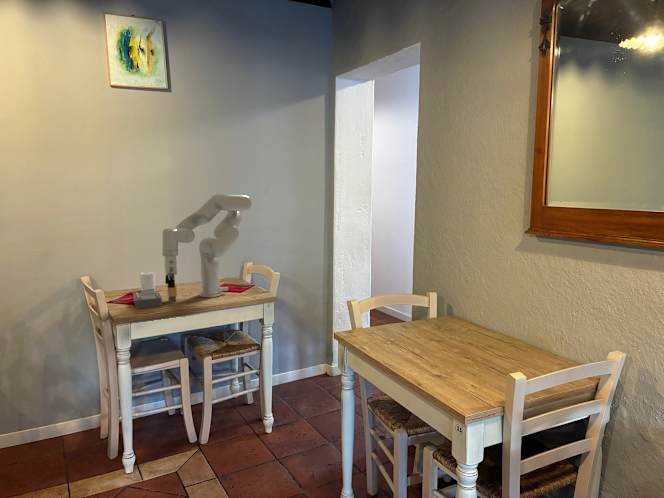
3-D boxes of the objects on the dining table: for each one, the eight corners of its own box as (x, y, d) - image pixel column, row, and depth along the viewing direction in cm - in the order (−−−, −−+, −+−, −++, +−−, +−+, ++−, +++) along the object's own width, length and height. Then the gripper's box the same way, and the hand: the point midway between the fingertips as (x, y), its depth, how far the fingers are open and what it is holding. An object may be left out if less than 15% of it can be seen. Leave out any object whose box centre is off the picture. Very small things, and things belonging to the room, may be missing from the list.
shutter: (154, 295, 243) (154, 288, 242) (156, 298, 237) (155, 291, 236) (140, 296, 240) (140, 289, 239) (141, 299, 234) (141, 292, 234)
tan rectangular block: (175, 299, 252) (175, 283, 251) (176, 301, 248) (176, 284, 247) (167, 300, 250) (167, 283, 249) (168, 302, 247) (168, 285, 245)
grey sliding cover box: (158, 298, 254) (157, 290, 253) (161, 306, 240) (161, 297, 239) (133, 300, 249) (133, 291, 248) (136, 308, 234) (135, 299, 234)
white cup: (158, 289, 274) (157, 272, 272) (151, 292, 266) (151, 274, 264) (145, 288, 274) (144, 271, 273) (138, 291, 267) (137, 274, 265)
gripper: (180, 255, 239) (180, 288, 241) (175, 250, 255) (175, 281, 257) (164, 255, 236) (164, 289, 238) (160, 250, 251) (160, 282, 253)
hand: (169, 285), depth 247 cm, fingers open, 9 cm apart
